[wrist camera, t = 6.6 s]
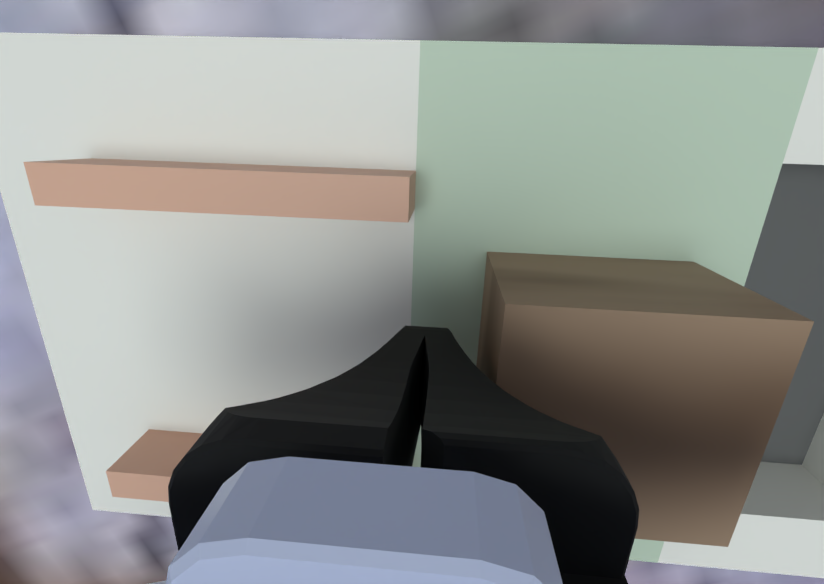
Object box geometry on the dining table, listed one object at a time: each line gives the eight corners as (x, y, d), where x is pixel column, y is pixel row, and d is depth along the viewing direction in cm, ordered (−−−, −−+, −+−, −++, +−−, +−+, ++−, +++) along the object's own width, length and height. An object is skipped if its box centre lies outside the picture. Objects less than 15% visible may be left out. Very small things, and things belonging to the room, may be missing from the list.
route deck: (801, 510, 17) (931, 648, 13) (144, 455, 19) (46, 557, 14) (995, 74, 12) (1346, 32, 7) (55, 53, 14) (-149, 9, 9)
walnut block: (648, 431, 13) (727, 546, 10) (471, 418, 14) (480, 524, 10) (693, 261, 11) (814, 321, 8) (486, 251, 12) (505, 304, 8)
